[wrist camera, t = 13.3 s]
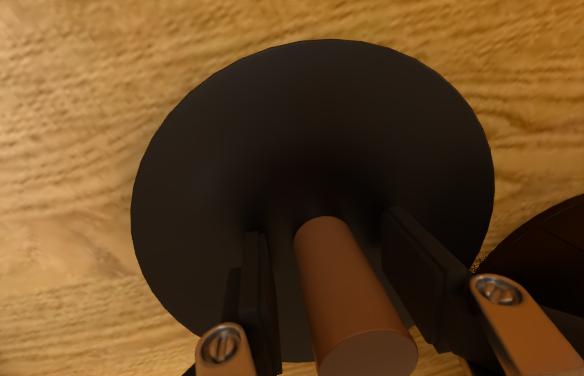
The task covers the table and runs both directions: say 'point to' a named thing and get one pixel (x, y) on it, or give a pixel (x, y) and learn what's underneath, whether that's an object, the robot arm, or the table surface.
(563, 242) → the pot
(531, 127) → the table surface
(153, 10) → the table surface
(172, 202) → the pot lid
